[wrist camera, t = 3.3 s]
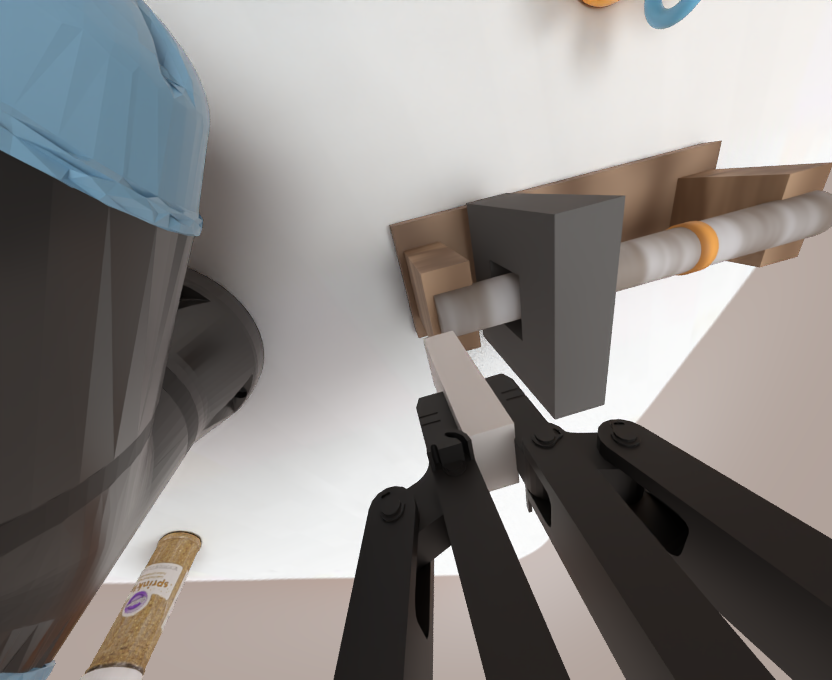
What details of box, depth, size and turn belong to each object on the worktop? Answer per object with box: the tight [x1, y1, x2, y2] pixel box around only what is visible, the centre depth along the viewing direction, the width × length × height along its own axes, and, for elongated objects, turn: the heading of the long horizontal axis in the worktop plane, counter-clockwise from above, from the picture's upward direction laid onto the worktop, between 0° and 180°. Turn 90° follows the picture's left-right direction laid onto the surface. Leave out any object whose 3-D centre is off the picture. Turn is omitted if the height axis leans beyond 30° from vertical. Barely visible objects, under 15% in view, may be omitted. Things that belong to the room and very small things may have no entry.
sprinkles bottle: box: [80, 532, 201, 680], centre depth 31 cm, size 5×5×14 cm
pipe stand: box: [390, 141, 832, 351], centre depth 23 cm, size 28×10×11 cm, turn 103°
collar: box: [466, 193, 625, 419], centre depth 19 cm, size 3×11×11 cm, turn 13°
